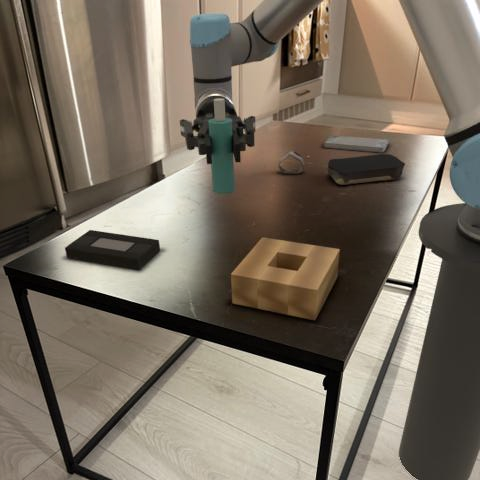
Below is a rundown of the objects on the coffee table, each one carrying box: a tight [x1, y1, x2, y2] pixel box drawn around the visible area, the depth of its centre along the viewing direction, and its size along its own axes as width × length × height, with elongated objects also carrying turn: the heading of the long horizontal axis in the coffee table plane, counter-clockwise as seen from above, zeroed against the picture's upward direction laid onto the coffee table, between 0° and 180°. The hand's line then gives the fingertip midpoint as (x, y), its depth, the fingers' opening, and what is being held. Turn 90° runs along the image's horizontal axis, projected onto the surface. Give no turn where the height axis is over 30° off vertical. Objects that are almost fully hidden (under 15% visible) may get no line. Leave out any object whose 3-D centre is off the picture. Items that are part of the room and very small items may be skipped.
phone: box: [323, 134, 389, 154], centre depth 136 cm, size 8×16×1 cm, turn 67°
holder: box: [230, 237, 341, 321], centre depth 75 cm, size 13×13×5 cm
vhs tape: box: [64, 229, 161, 271], centre depth 87 cm, size 8×14×2 cm, turn 70°
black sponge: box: [326, 153, 406, 186], centre depth 115 cm, size 16×8×4 cm, turn 101°
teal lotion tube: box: [208, 98, 236, 195], centre depth 79 cm, size 4×4×14 cm
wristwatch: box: [277, 150, 305, 175], centre depth 119 cm, size 4×6×5 cm, turn 93°
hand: (223, 154), depth 74 cm, fingers closed on teal lotion tube, 4 cm apart
